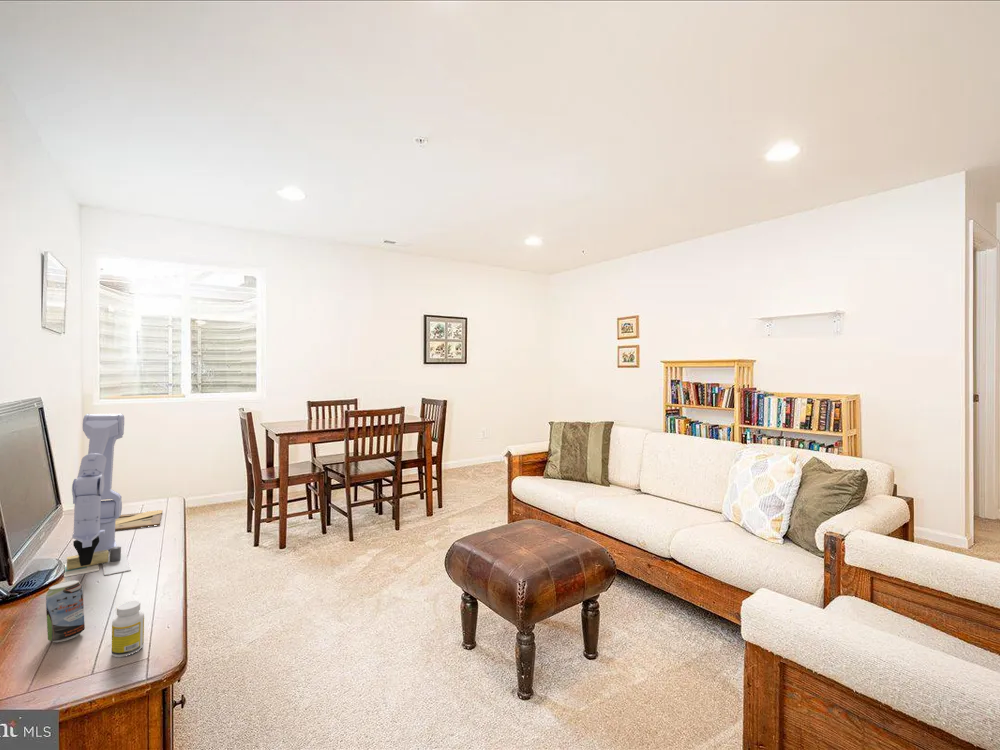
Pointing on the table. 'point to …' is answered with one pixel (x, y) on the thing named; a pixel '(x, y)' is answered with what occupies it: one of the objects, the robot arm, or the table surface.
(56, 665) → the table surface
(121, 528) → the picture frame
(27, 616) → the table surface
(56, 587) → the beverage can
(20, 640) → the table surface
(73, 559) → the bar
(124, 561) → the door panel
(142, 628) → the supplement bottle
